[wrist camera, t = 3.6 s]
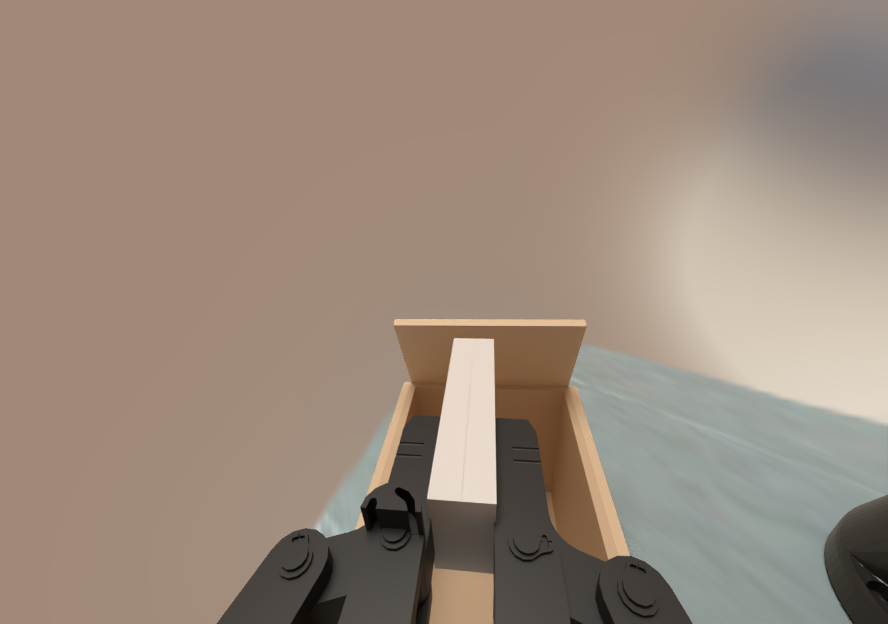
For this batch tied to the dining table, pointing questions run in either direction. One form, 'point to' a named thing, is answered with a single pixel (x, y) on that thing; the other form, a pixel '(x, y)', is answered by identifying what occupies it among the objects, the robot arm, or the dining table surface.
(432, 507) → the robot arm
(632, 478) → the dining table surface
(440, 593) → the carton
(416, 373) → the flap
